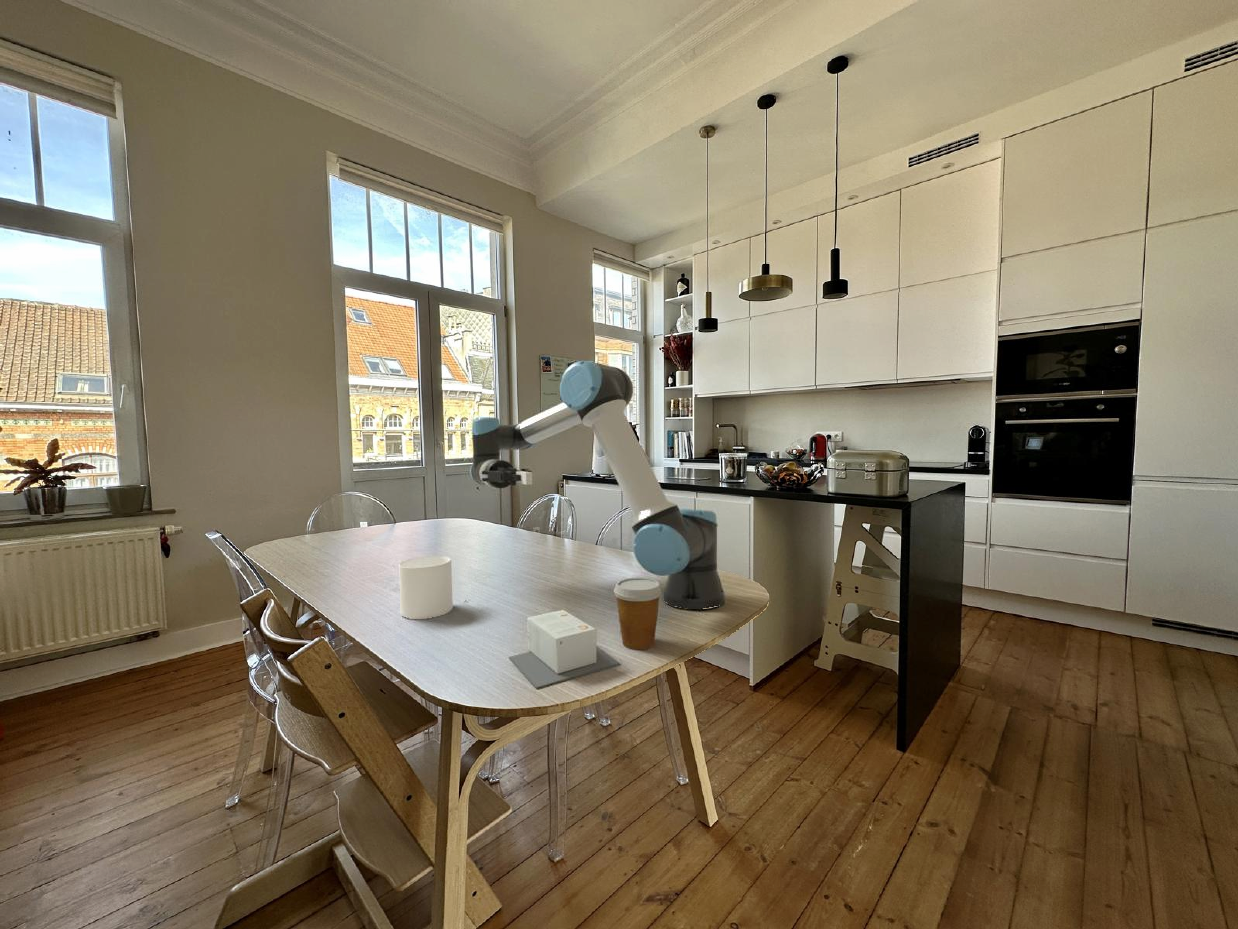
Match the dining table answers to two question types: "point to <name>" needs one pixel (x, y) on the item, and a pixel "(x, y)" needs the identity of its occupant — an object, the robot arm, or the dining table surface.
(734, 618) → the dining table surface
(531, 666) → the rubber mat
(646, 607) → the disposable coffee cup
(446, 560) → the white cylinder
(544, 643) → the small box
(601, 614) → the dining table surface
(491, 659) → the dining table surface
